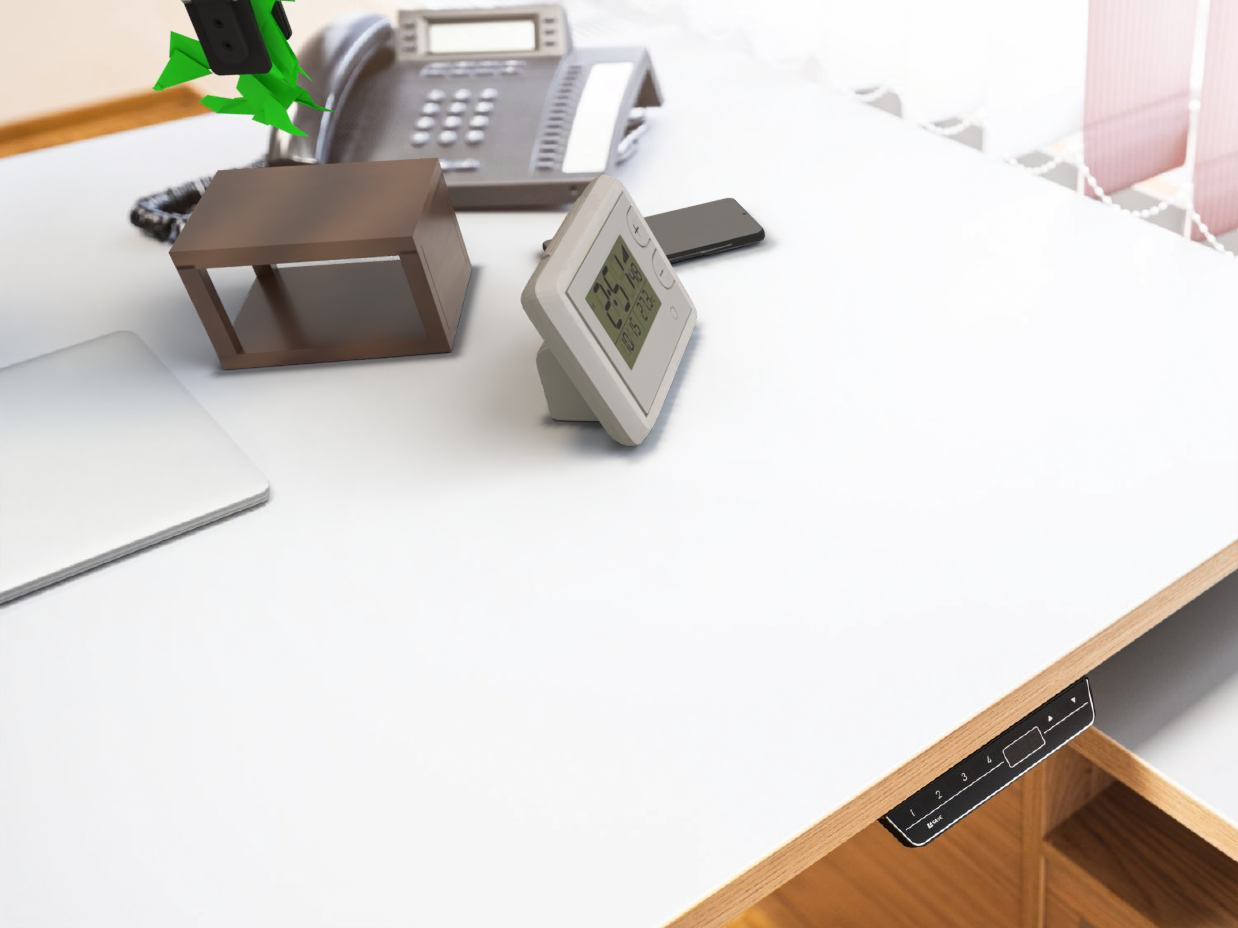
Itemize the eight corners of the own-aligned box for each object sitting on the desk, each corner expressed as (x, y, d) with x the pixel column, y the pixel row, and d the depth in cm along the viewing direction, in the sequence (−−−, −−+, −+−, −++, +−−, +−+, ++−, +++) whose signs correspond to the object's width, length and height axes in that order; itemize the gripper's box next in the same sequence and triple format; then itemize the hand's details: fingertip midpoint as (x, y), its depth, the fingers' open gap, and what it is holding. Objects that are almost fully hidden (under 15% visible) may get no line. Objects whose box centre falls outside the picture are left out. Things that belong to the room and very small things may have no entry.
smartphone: (539, 240, 97) (732, 195, 102) (542, 252, 98) (734, 206, 103) (567, 279, 93) (767, 230, 98) (570, 291, 93) (768, 242, 99)
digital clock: (641, 463, 79) (601, 298, 71) (502, 443, 80) (448, 278, 73) (742, 329, 90) (717, 175, 83) (619, 314, 91) (583, 160, 84)
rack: (224, 370, 85) (167, 252, 80) (265, 282, 94) (217, 169, 88) (451, 352, 87) (412, 236, 82) (472, 267, 96) (438, 157, 90)
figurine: (339, 146, 77) (235, -19, 71) (189, 159, 81) (77, 4, 74) (398, 95, 81) (305, -67, 74) (252, 110, 85) (151, -42, 78)
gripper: (78, -354, 71) (222, 11, 84) (-44, -301, 59) (146, 114, 72) (228, -354, 72) (347, 6, 85) (137, -303, 60) (292, 107, 73)
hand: (253, 52), depth 79 cm, fingers closed on figurine, 4 cm apart
